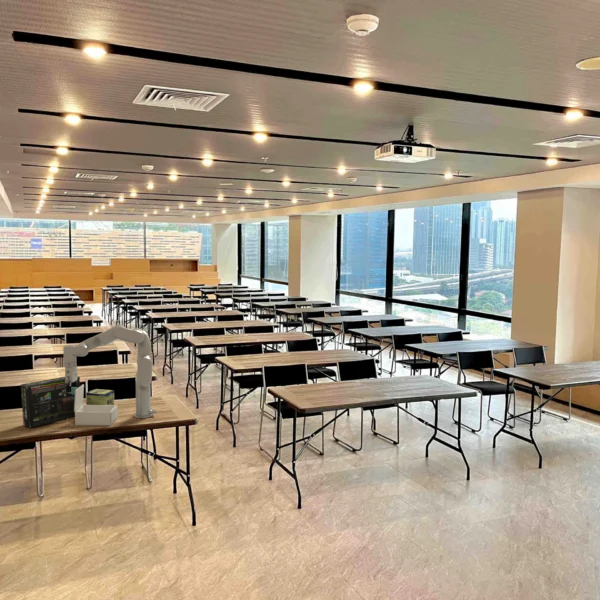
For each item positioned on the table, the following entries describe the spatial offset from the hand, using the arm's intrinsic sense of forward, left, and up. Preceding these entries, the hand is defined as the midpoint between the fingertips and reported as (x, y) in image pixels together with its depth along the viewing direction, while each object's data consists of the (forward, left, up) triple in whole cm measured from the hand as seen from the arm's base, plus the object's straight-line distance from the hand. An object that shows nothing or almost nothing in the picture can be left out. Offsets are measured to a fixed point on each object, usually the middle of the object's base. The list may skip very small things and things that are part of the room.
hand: (71, 390), depth 369 cm
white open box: (-16, 0, -21) cm, 26 cm away
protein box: (-13, -18, -21) cm, 31 cm away
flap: (-5, 0, -5) cm, 7 cm away
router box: (+13, 0, -21) cm, 24 cm away
